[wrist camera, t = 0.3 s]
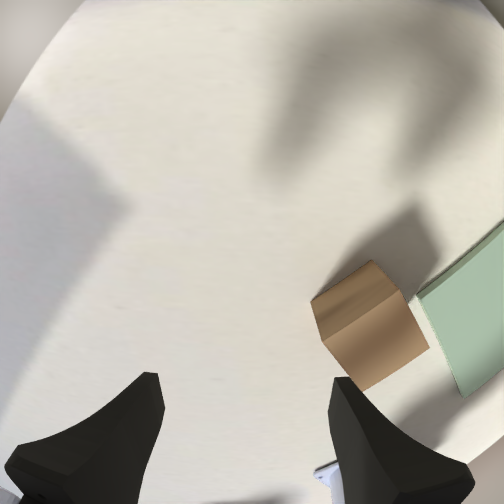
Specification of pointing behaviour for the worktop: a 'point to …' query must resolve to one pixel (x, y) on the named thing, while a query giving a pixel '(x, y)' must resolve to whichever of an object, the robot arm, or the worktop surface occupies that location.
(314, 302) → the walnut block
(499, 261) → the sage board
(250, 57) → the worktop surface
